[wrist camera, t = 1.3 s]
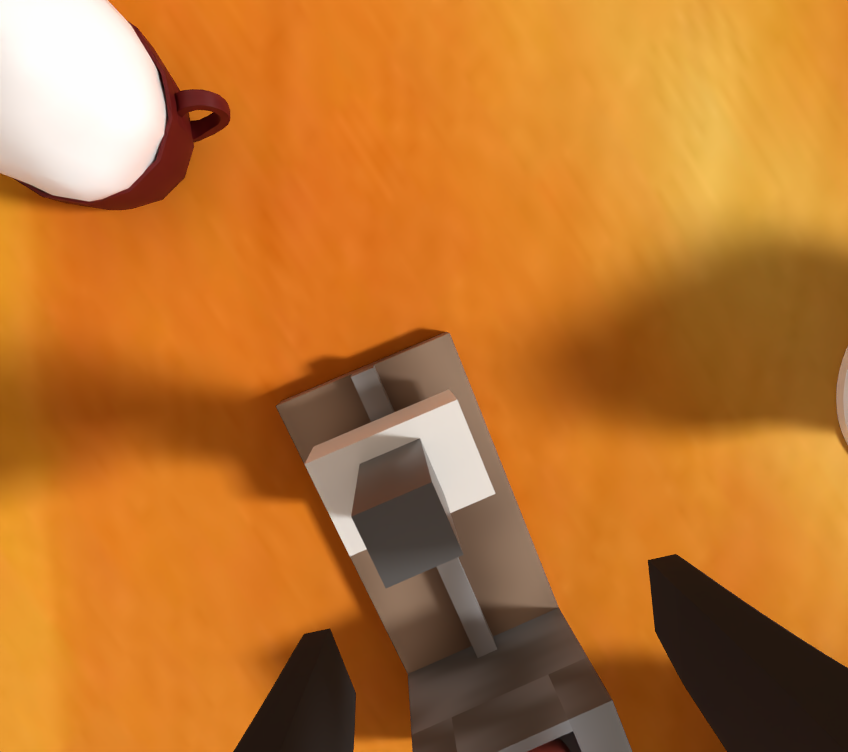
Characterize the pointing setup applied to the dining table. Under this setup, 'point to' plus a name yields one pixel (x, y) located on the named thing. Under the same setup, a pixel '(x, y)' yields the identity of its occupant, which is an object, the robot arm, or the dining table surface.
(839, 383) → the panda figurine
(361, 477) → the carriage
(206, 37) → the dining table surface
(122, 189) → the cocoa
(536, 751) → the button
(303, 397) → the rail board
